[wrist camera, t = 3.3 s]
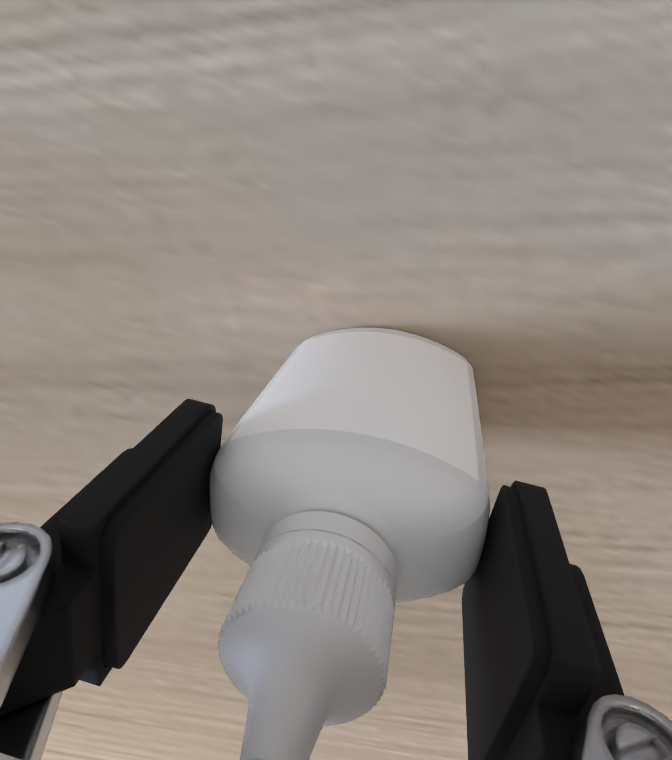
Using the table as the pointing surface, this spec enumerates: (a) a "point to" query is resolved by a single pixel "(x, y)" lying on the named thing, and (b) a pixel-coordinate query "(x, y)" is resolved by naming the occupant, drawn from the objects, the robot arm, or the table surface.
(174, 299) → the table surface
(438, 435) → the eye dropper bottle
